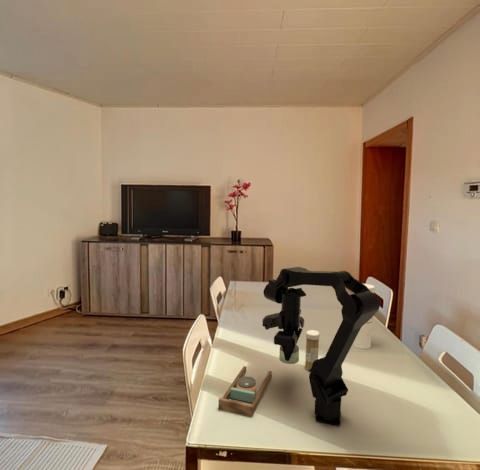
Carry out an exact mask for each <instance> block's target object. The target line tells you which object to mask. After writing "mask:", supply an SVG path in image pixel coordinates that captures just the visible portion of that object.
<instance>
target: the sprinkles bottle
mask: <svg viewBox="0 0 480 470" xmlns="http://www.w3.org/2000/svg"><path fill="white" fill-rule="evenodd" d="M305 337H306V342H305V344H306V346H305V357H304V358H305V362H304V363H305V364H304V369H305V370H306V371H309V370H310V369H311V368H312V364H313V362H314V361H315V360H317V359H319V340H320V332H319V331H318V330H313V329H311V330H310V329H309V330H307V331H306V335H305Z"/></svg>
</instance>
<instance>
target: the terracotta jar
mask: <svg viewBox="0 0 480 470" xmlns="http://www.w3.org/2000/svg"><path fill="white" fill-rule="evenodd" d="M236 388H238V389H243V390H248V391H253V392H255V396H256V395H257V381H256V379H255V378H254V377H252V376H245V375H244V376H243V377H240V378H239V379H238V380H237V387H236Z"/></svg>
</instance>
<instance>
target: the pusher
mask: <svg viewBox="0 0 480 470" xmlns="http://www.w3.org/2000/svg"><path fill="white" fill-rule="evenodd" d="M255 397H256V395H255V392H253V391H248V390H243V389H238V388H237V387H236V388H233V387H231V389H230V398H229V399H231V400H236V401H242V402H245V403H246V402H248V403H250V404H252V403H253V401H254V399H255Z"/></svg>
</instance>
